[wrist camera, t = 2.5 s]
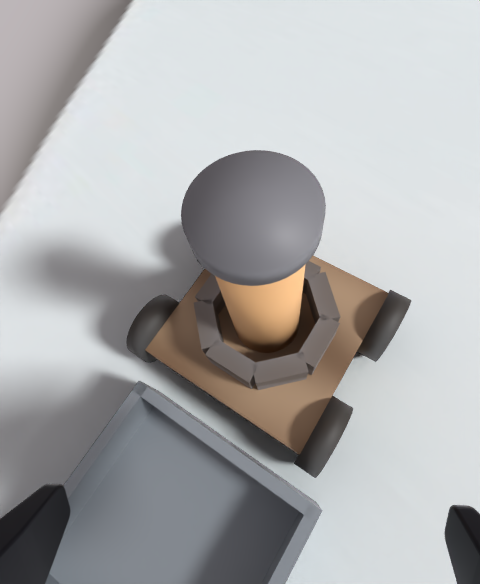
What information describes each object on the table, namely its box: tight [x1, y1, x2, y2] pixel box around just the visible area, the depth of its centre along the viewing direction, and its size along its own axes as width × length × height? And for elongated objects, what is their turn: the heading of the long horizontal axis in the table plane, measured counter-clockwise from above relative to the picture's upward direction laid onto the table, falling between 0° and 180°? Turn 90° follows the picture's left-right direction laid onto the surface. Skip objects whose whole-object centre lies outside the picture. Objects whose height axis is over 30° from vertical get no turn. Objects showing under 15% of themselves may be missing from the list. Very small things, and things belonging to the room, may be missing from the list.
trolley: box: [127, 256, 411, 478], centre depth 22 cm, size 11×12×5 cm
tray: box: [45, 381, 322, 584], centre depth 19 cm, size 11×11×4 cm
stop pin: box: [181, 150, 326, 353], centre depth 17 cm, size 4×4×11 cm
